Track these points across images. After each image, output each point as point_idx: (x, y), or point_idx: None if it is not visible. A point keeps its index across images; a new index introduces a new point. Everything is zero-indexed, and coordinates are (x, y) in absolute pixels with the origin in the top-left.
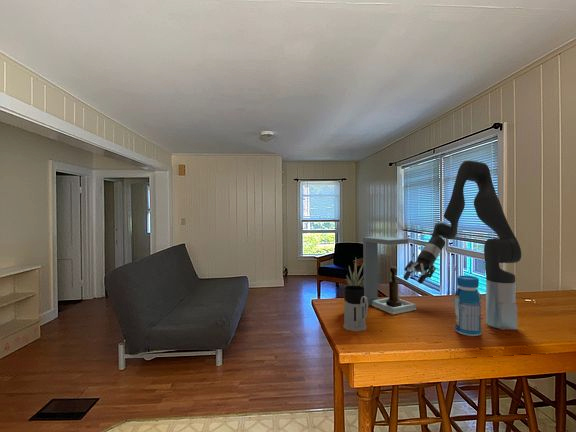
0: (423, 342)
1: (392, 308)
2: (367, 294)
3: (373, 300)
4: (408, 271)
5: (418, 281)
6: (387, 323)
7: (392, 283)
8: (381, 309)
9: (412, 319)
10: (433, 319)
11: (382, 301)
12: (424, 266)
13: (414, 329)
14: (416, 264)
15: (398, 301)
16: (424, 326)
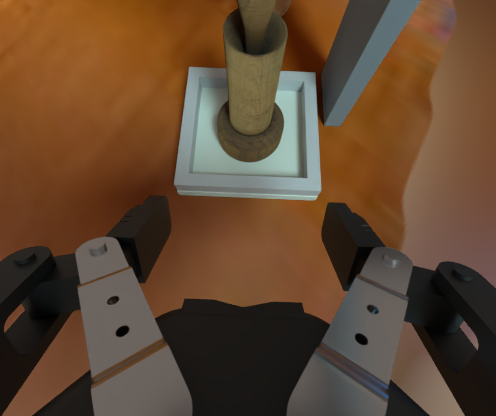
0: (2, 3)
1: (193, 67)
2: (338, 37)
3: (314, 77)
4: (367, 258)
5: (157, 196)
6: (147, 20)
7: (240, 17)
8: None
9: (120, 100)
10: (70, 159)
11: (303, 117)
12: (84, 404)
13: (65, 44)
14: (319, 371)
15: (220, 117)
16: (57, 83)
